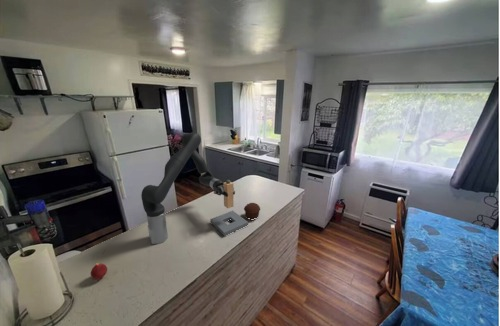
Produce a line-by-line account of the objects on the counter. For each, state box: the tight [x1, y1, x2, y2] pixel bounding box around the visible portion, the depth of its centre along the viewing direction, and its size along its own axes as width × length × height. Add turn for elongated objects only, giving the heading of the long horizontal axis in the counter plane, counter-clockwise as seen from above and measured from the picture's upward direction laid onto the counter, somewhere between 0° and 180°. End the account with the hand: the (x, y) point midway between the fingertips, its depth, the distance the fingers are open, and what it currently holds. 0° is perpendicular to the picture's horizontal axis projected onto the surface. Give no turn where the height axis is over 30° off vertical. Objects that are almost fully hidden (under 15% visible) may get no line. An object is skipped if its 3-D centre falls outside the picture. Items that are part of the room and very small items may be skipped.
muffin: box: [243, 202, 261, 219], centre depth 135 cm, size 12×11×10 cm
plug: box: [223, 179, 234, 209], centre depth 120 cm, size 4×4×18 cm
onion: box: [90, 262, 108, 280], centre depth 85 cm, size 6×6×8 cm
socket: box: [209, 210, 249, 237], centre depth 126 cm, size 18×18×3 cm
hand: (230, 194), depth 118 cm, fingers closed on plug, 4 cm apart
